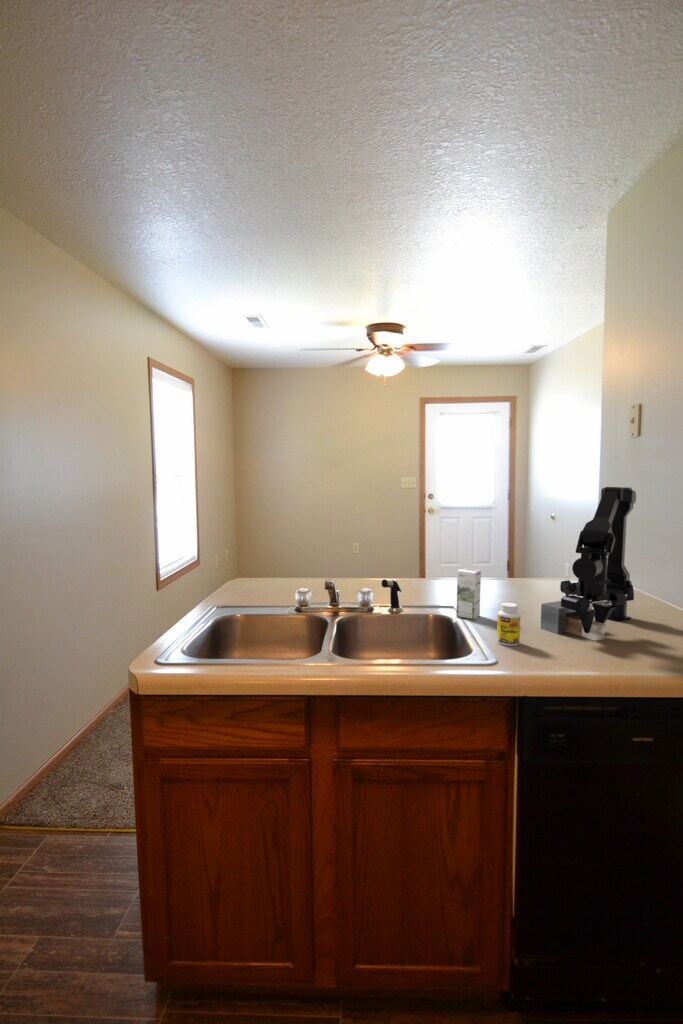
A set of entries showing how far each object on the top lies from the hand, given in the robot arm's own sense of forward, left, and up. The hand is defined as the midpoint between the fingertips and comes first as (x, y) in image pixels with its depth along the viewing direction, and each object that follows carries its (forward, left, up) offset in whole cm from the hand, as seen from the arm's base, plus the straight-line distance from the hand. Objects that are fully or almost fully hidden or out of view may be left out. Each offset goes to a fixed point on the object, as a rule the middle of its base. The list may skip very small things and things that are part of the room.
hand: (592, 631), depth 141 cm
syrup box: (+17, -30, -2) cm, 35 cm away
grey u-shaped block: (0, -9, -2) cm, 9 cm away
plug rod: (0, -6, -2) cm, 6 cm away
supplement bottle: (+24, -6, -2) cm, 25 cm away
